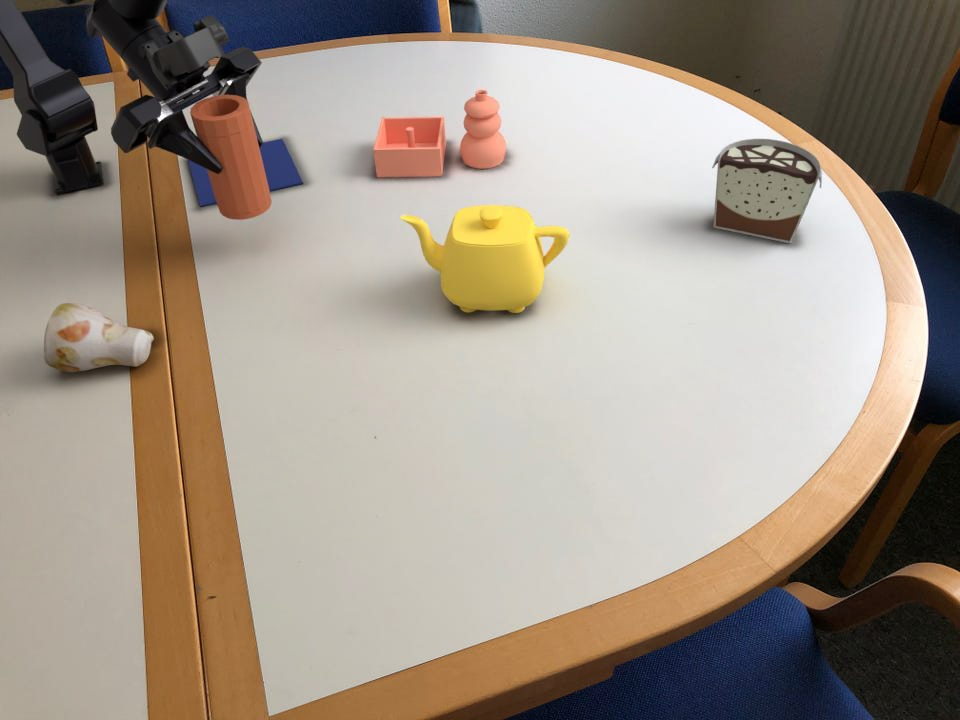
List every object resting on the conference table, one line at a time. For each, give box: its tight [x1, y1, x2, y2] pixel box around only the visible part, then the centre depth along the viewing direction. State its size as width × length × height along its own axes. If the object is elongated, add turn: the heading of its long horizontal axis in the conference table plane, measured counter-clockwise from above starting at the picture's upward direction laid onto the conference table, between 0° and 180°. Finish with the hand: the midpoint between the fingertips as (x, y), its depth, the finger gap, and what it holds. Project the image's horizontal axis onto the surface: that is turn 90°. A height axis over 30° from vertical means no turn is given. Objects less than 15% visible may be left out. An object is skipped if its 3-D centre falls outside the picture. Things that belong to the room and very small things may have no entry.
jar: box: [189, 95, 272, 221], centre depth 91 cm, size 6×6×12 cm
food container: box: [711, 138, 823, 244], centre depth 96 cm, size 12×6×10 cm, turn 65°
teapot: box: [400, 204, 570, 314], centre depth 87 cm, size 18×11×11 cm, turn 86°
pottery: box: [373, 89, 507, 178], centre depth 110 cm, size 18×10×10 cm, turn 88°
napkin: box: [187, 138, 304, 208], centre depth 113 cm, size 14×14×1 cm
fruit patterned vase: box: [43, 302, 155, 373], centre depth 82 cm, size 8×10×10 cm
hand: (241, 158), depth 90 cm, fingers closed on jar, 6 cm apart
